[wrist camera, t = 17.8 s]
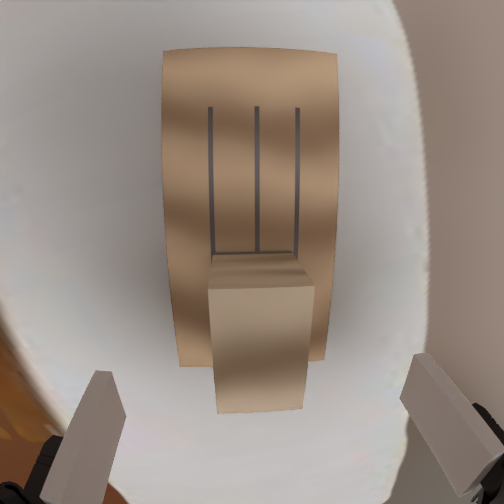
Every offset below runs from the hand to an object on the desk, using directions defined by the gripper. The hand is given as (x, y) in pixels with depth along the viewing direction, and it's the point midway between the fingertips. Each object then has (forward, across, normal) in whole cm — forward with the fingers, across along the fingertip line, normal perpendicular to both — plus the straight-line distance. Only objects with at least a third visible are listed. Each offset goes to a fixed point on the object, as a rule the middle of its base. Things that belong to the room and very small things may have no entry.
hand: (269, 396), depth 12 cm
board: (+11, 0, +5) cm, 12 cm away
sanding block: (+10, 0, -1) cm, 10 cm away
